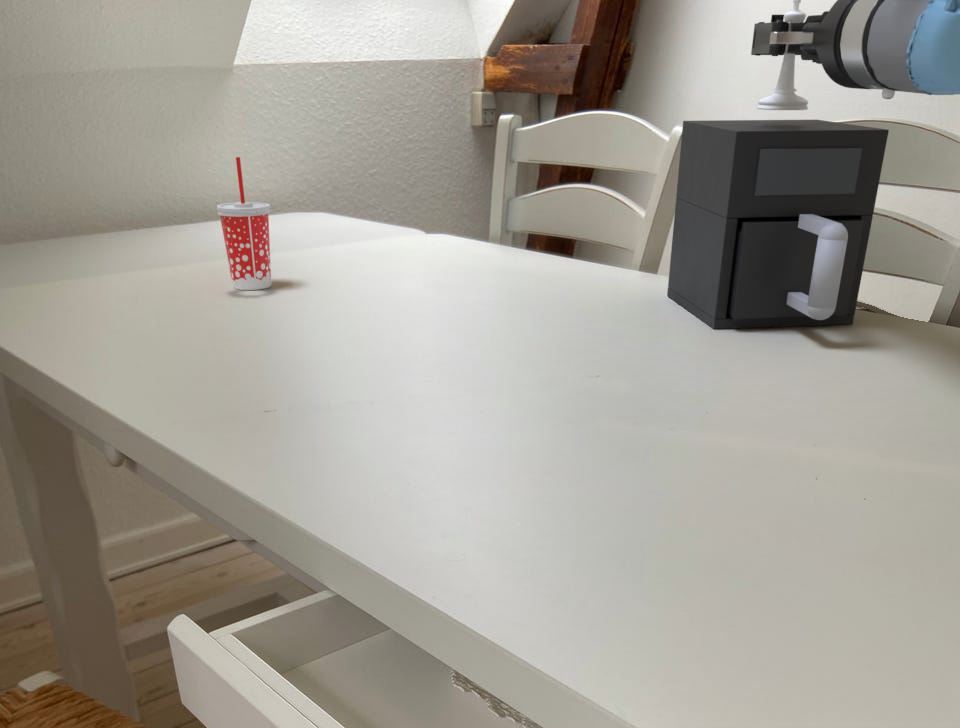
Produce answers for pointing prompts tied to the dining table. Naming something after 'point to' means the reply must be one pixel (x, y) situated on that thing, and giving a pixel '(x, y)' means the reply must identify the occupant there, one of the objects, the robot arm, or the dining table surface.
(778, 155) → the fryer
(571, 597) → the dining table surface
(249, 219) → the beverage cup
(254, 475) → the dining table surface
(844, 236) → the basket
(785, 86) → the chess piece
